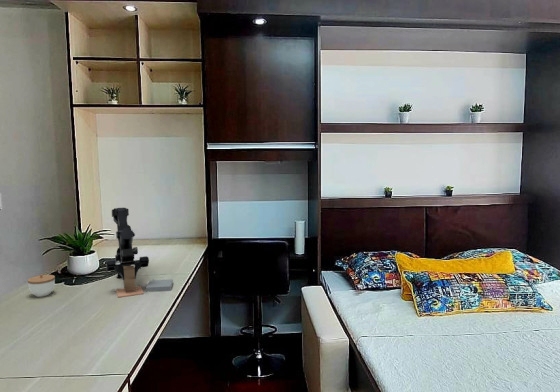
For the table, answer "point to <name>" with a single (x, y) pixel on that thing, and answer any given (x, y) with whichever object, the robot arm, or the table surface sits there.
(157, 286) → the grey ledge
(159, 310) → the table surface
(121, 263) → the robot arm
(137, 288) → the terracotta mat
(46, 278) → the lidded jar
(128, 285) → the walnut block
